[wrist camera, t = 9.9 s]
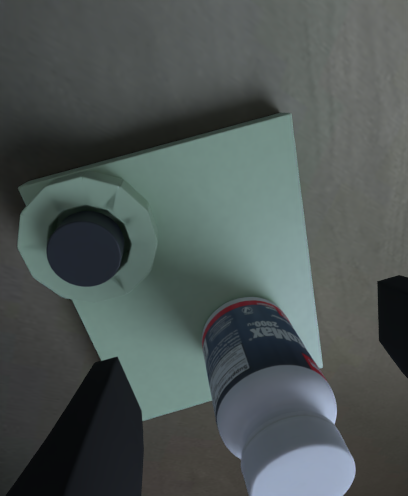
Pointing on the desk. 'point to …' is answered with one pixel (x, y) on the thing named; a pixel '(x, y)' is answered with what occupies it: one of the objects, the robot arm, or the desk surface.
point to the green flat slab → (182, 249)
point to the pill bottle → (273, 403)
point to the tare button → (86, 249)
